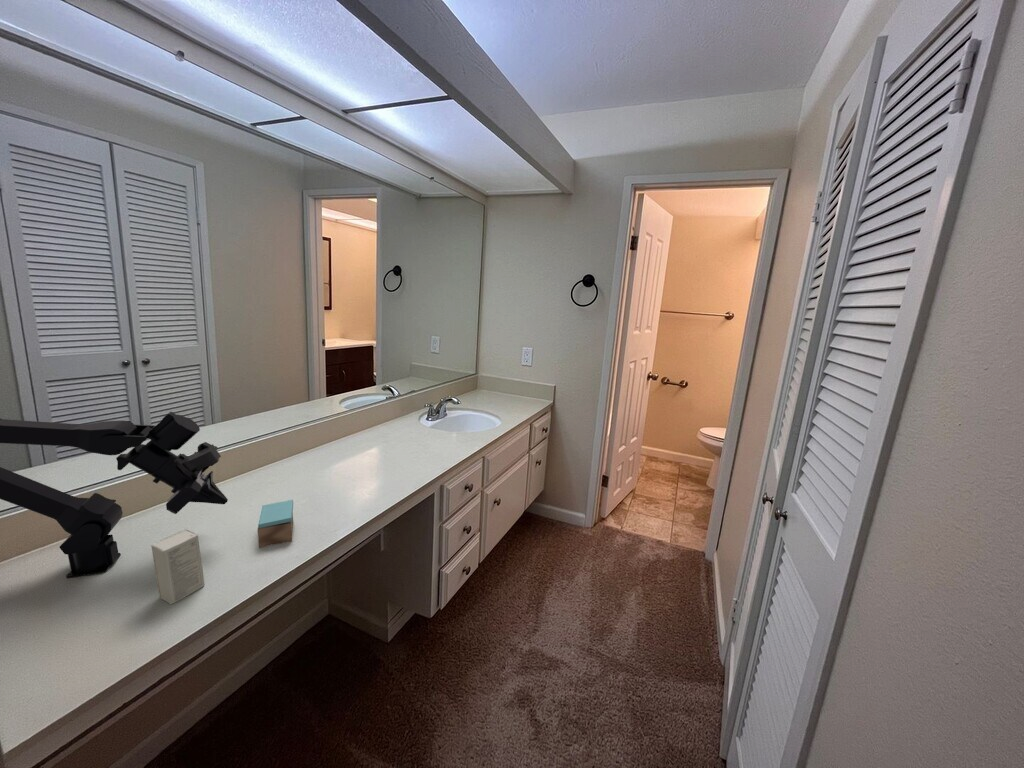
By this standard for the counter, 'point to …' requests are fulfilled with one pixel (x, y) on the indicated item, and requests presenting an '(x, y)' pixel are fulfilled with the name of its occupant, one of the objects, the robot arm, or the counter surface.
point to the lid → (276, 513)
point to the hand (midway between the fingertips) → (226, 502)
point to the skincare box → (178, 565)
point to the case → (275, 534)
